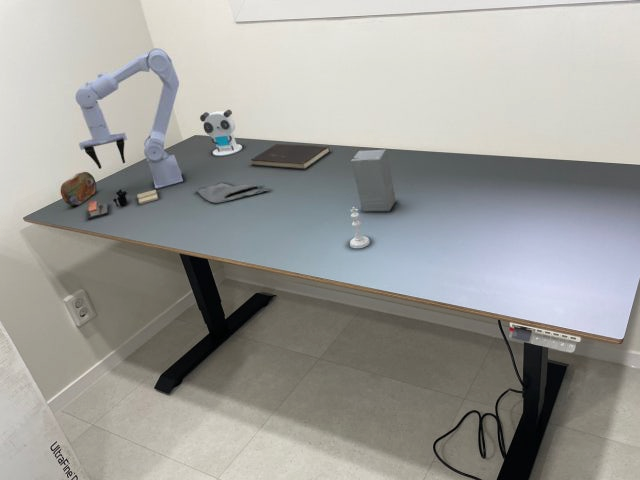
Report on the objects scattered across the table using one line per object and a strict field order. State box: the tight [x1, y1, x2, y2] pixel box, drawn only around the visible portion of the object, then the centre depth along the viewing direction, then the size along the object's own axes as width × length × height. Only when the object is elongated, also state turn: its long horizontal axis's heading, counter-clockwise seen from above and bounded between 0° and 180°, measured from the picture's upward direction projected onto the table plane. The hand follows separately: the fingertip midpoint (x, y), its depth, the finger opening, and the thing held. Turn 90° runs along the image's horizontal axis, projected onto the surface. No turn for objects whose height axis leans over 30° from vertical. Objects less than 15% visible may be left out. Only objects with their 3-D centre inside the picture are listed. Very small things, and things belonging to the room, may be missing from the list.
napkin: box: [137, 189, 159, 205], centre depth 188 cm, size 6×6×1 cm
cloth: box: [195, 182, 270, 204], centre depth 181 cm, size 26×14×2 cm, turn 60°
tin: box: [60, 171, 97, 206], centre depth 194 cm, size 15×3×8 cm, turn 168°
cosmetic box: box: [350, 149, 397, 212], centre depth 153 cm, size 8×7×16 cm
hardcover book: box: [250, 143, 331, 171], centre depth 200 cm, size 16×23×2 cm
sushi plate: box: [87, 200, 109, 221], centre depth 183 cm, size 6×8×3 cm
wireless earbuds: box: [112, 188, 128, 207], centre depth 185 cm, size 7×2×5 cm, turn 167°
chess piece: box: [349, 206, 370, 249], centre depth 139 cm, size 5×5×10 cm
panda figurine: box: [199, 109, 243, 157], centre depth 216 cm, size 12×11×15 cm
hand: (112, 165), depth 190 cm, fingers open, 7 cm apart
